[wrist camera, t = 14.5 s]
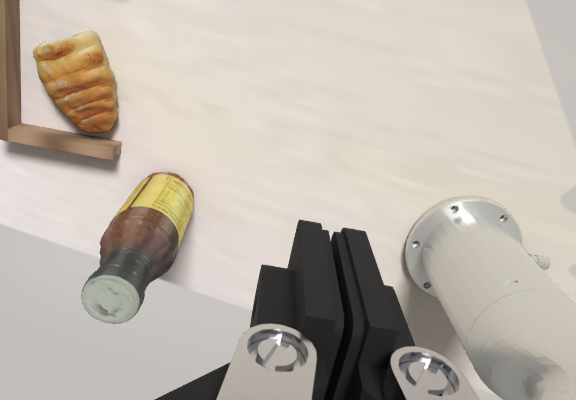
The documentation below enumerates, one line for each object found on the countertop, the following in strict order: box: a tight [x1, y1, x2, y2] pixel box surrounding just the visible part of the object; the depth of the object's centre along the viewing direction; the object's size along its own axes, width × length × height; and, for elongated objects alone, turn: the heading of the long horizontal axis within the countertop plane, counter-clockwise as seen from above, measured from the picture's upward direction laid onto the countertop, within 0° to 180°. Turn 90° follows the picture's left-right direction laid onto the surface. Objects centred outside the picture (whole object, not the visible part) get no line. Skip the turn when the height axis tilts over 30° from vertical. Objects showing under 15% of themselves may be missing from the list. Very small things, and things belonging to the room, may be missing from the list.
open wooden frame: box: [0, 0, 121, 160], centre depth 44 cm, size 11×18×2 cm, turn 169°
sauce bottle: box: [81, 172, 194, 324], centre depth 42 cm, size 6×6×20 cm
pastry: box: [33, 31, 118, 133], centre depth 45 cm, size 9×7×4 cm
